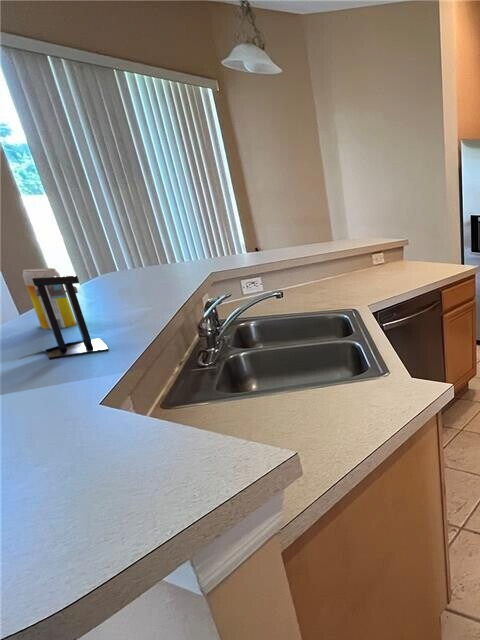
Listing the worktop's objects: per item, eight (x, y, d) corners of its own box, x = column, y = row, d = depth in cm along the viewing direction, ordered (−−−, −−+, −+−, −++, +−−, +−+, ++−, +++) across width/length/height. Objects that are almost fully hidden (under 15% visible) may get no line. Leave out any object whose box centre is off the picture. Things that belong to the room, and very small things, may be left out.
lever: (80, 284, 84) (76, 272, 83) (35, 288, 80) (30, 274, 79) (78, 296, 92) (74, 285, 92) (38, 300, 88) (33, 288, 88)
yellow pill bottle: (77, 328, 112) (57, 267, 107) (78, 332, 108) (57, 270, 103) (43, 331, 108) (21, 269, 103) (43, 336, 104) (20, 271, 99)
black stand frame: (110, 354, 93) (87, 283, 88) (50, 363, 87) (22, 287, 82) (101, 343, 100) (80, 277, 95) (45, 351, 94) (19, 280, 89)
